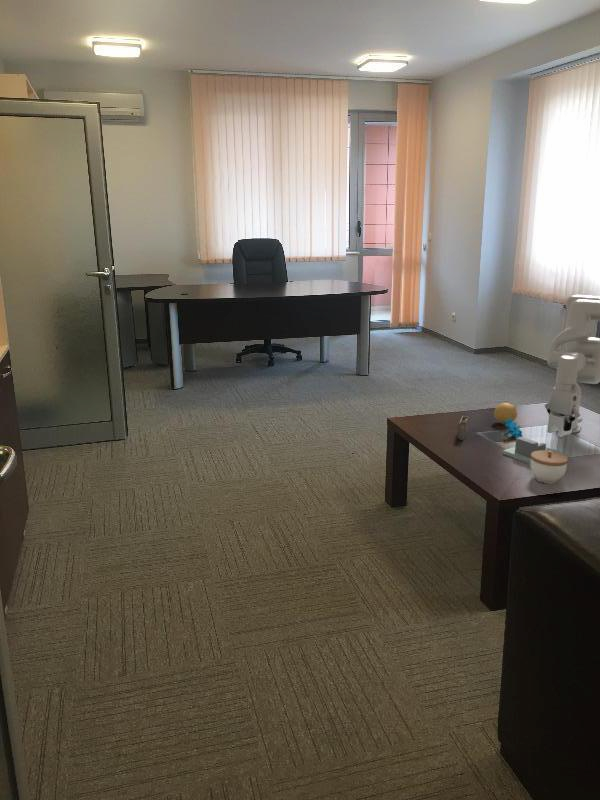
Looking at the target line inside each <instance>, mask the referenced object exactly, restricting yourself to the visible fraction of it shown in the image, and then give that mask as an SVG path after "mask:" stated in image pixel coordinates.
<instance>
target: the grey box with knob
mask: <svg viewBox="0 0 600 800" xmlns="http://www.w3.org/2000/svg"><path fill="white" fill-rule="evenodd" d="M573 416H574V415H573ZM569 417H570V416H569ZM566 418H567V417H566V415H563V414H560V413H557V412H554V413H551V414H549V413H548V423H547V424H548V425H547V433H549V434H553V433H556V432H557V437H560V438H562V437H564V436H565V437H566V436H568V435H570V434H572V433H571V432H572V427H571V430H569V431H565V424H566V422H567V419H566ZM572 425H573V421H572Z"/></svg>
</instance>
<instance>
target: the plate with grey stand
mask: <svg viewBox="0 0 600 800" xmlns="http://www.w3.org/2000/svg"><path fill="white" fill-rule="evenodd" d="M539 450H547V451H554V452H558V453H561V454H563V455H565V456H566V457H567V455H566V453H565V452H562V451H558V450H555V449H552V448H549V447H547V443H544V442H541V443H539V442H538V441H534V440H532V439H529V438H527V437H523V436H522V437H519V438H515V446H514V447H511V448H506V449H503V451H502V454H503V455H504V456H508V457H511V458H513V459H516V460H517V461H518V460H519V461H521V462H524V463H526V464H529V465H530V461H531V453H532V452H534V451H539Z"/></svg>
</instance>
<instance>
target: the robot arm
mask: <svg viewBox="0 0 600 800" xmlns="http://www.w3.org/2000/svg"><path fill="white" fill-rule="evenodd" d="M565 305H566V314H567V319H566V325H565V329H564V330H563V331H561V332H559V333H558V334H557V335H556V336H555V337H554V338H553V339H552V340H551V343H550V345H549V350H548V355H547V365H548V367H550V368H553V369H556V376H555V377H556V378H555V382H554V383H555V385H554V387H553V389H552V391H551V394H550V399H549V402H548V403H546V404H544V408H545V409H546V412H547V414H548V415H549V414H551V413H554V412H557V413H560V414H563V415H566V417H567V418H566V419H567V422H566V424H565V431H569V430H571V427H572V432H571V434H573V433H574V434H575V433H579V432H580V431H581V427H580V426H579V425H578V424H579V423H582V422H583V418H582V417H581V414H580V405H581V401H582V400H581V398H582V389H581V387H580V386H579V383H581V384H591V385H596V384H599V383H600V337H592V336H590V334H591V325H590V321H595V322H600V295H586V294H574V295H570V296H568V298H567V299H566V302H565ZM564 344H566V349H565V350H562V349H558V348H559V347H561V346H562V345H564ZM587 360H591V361H587ZM573 415H574V416H573ZM569 416H570V417H569ZM572 421H573V425H572Z"/></svg>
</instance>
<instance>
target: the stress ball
mask: <svg viewBox="0 0 600 800" xmlns="http://www.w3.org/2000/svg"><path fill="white" fill-rule="evenodd" d="M517 415H518V412H517V408H516V406H515V405H514V404H512V403H510V402H502V403H500V404H498V405H497V406H496V407H495V409H494V418H495V420H496V421H497V422H498V423H500V424H501V425H504V426H505V424H506V423H505V421H506V420H507V419H512V420H513V422H515V421H516V419H517V417H518V416H517Z"/></svg>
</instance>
